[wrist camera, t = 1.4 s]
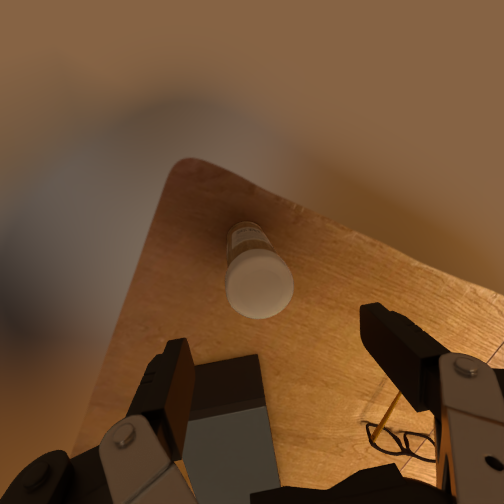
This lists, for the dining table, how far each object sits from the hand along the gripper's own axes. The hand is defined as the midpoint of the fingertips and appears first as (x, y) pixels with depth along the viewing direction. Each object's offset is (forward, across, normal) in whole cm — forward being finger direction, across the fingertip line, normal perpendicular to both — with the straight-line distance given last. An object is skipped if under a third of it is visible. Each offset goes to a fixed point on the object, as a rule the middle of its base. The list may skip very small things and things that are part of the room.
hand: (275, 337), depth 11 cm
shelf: (+19, +6, +29) cm, 35 cm away
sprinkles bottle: (+18, 0, 0) cm, 19 cm away
